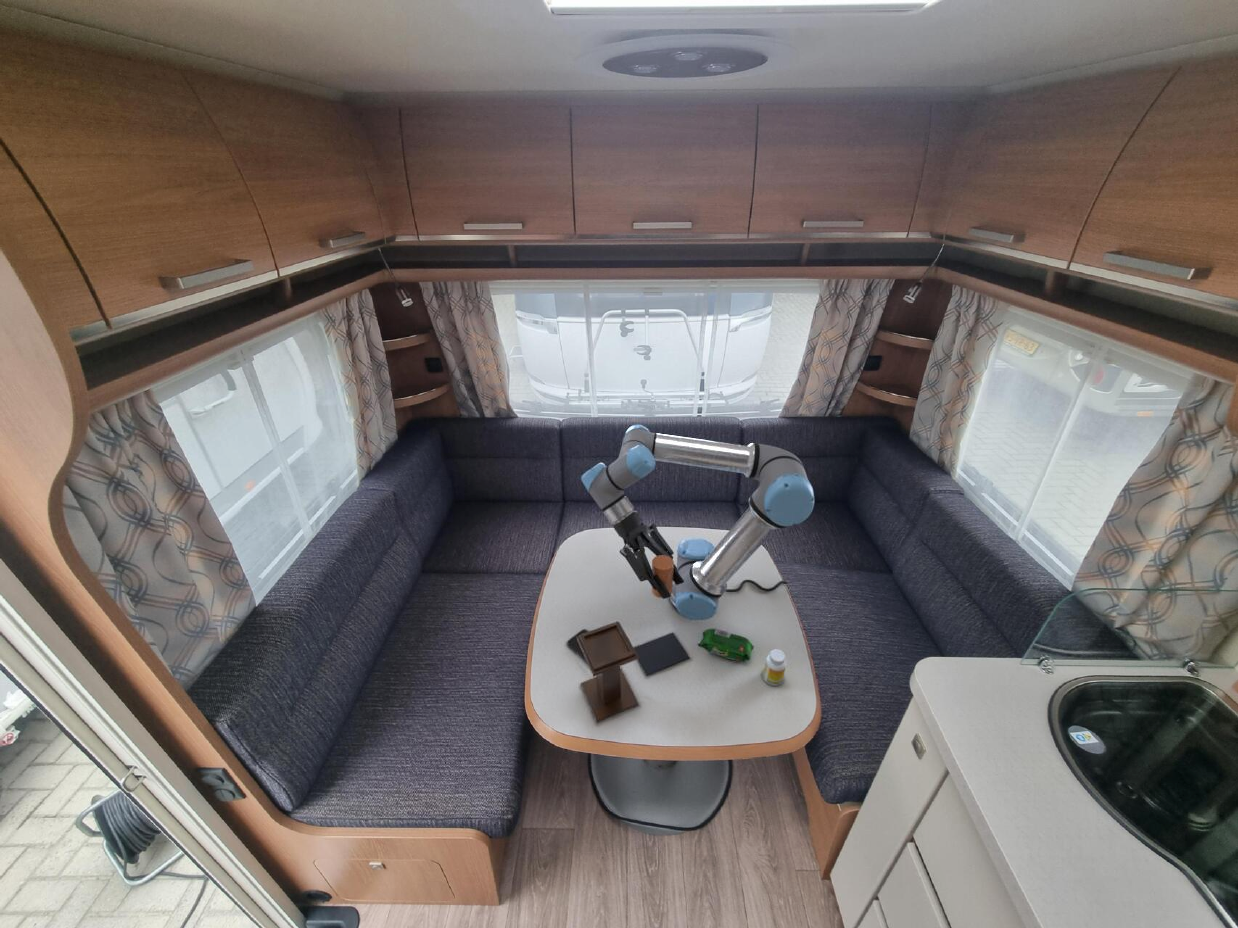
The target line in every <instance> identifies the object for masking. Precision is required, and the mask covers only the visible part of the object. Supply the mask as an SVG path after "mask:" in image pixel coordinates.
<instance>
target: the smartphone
mask: <svg viewBox="0 0 1238 928" xmlns="http://www.w3.org/2000/svg"><path fill="white" fill-rule="evenodd" d="M589 631H590V630H588V629H586V628H583V629H582V630H580V631H579V632H577V633H576V634H575V635H573V636H572V637H571V638H570V639H568V640H567V641H566V645H567V646H568V647H569V648H570V649H571V650H573V651H574V653H576V654H577V655H578V656H579V657H580V658H581V659H582V660H583V661H585V662H586V663H587V661H586V659H585V657H584V654H583V652H582V650H581V648H580V645H579V643H578V641H577V637H578V636H579V635H580V634H583V633H586V632H589Z"/></svg>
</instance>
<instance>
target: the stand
mask: <svg viewBox="0 0 1238 928" xmlns="http://www.w3.org/2000/svg"><path fill="white" fill-rule="evenodd" d="M588 631H589V632H586V633H583V634H580V635H579V636H578V637H577V641H578V643H579V645H580V648H581V650H582V652H583V654H584V657H585V659H586V661H587V662H586V661H585V662H586V664H587V666H588V667H589V670H590V672H591V674H592V677H593V678H590V679H588V680H585V681H583V682H580V686H581V688H582V691H583V693H584V697H585V698H586V701H587V704H588V706H589V708H590V710H591V713H592V715H593V718H594V720H595V723H597V724H598V723H600V722H602V721H606V720H607V719H610V718H612V717H614V716H617V715H619V714H622V713H624V712H627V711H628V710H631V709H633V708H635V707H638V706H639V702H638V699H637V698H636V696H635V693H634V692H633V690H632V688H631V686H630V683H629V681H628V680H627V678H626V676H625V674H624V672H623V670H622V668H621V667H623V666H625V665H627V664H629V663H632V662H634V661H638V655H637V653H636V651H635V649H634V646H633V644H632V642H631V641H630V639H629V637H628V635H627V633H626V631H625V630H624V628H623V626H622V624H621V622H620V621H618V620H617V621H614V622H611V623H609V624H605V625H603V626H601V627H597V628H595V629H591V630H588Z"/></svg>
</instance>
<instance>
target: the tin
mask: <svg viewBox="0 0 1238 928" xmlns="http://www.w3.org/2000/svg"><path fill="white" fill-rule="evenodd" d="M674 564H675V562H674V558H673V559H672V558H671V557H669V556H666V555H659V556H656V555H655V556H654V557H653V559H652V560H651V569H652V571H653V574H654V575H658V577H659V578H660V580H661V581H662V583H663V584H664V586H665V587H666V589H667V590H668V591H669V593H670V594H672V588H673V584H674V581H673V569H674ZM650 589H651V593H652V595H653V596H655V597H656V598H659V599H663V598H662V597H661V595H660V594H659V592H658V591H657V590H655V589H653V587H652V586H651V588H650Z"/></svg>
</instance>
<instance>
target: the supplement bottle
mask: <svg viewBox="0 0 1238 928" xmlns="http://www.w3.org/2000/svg"><path fill="white" fill-rule="evenodd" d="M786 668H787V661H786V654H785V653H784V651H782V650H780V649H778V648H776V649H775V648H774V649H771V650H770V653H769V654H768V655H767V656H766V658H765V661H764V667H763V671H762V678H763V680H764V681H765V682H766V683H767V684H768V685H771V686H778V685H780V684H782V683H783V680H784V676H785V672H786Z"/></svg>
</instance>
